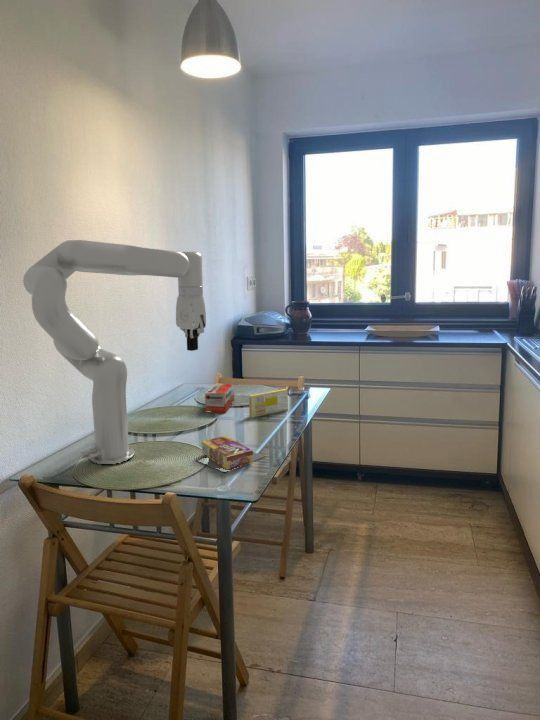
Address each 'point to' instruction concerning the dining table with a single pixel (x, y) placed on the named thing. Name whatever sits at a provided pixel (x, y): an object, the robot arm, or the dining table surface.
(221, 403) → the medicine box
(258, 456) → the mat
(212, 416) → the dining table surface
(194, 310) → the robot arm
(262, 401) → the candy box
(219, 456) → the candy box
